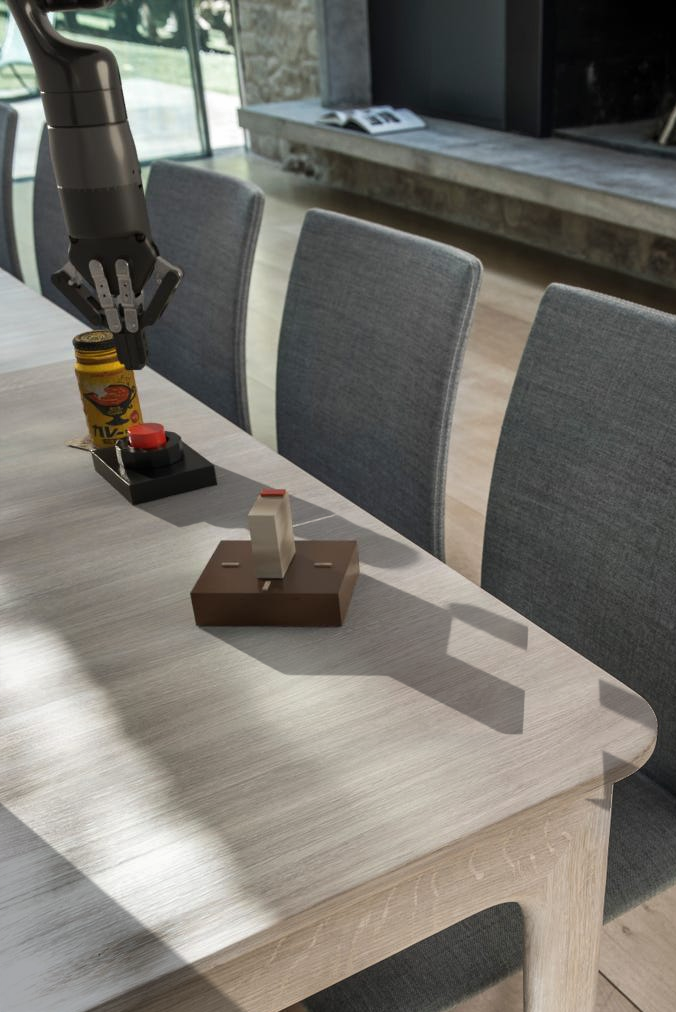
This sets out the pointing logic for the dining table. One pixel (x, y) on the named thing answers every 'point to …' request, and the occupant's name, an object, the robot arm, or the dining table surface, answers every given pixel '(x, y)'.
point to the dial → (272, 533)
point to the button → (147, 435)
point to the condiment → (104, 391)
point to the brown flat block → (277, 586)
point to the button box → (153, 469)
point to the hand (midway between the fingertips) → (136, 367)
